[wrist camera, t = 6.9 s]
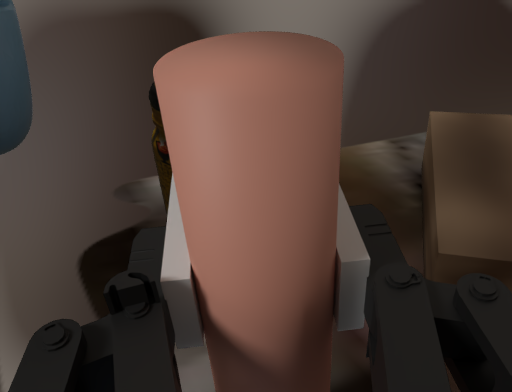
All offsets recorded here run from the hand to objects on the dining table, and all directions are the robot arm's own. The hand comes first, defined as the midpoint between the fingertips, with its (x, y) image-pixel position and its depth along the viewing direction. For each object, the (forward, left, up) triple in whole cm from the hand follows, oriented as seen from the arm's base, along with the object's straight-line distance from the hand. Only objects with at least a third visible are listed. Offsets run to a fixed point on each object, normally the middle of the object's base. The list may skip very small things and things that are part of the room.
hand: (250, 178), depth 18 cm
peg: (+2, -5, -9) cm, 10 cm away
